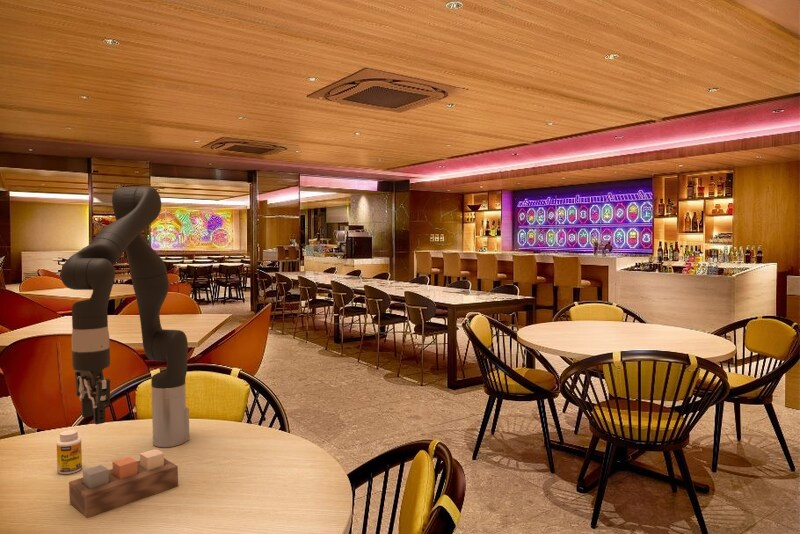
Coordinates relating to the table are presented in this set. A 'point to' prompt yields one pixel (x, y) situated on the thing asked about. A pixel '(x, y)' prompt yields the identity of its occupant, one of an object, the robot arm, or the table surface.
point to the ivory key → (151, 459)
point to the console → (122, 489)
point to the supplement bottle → (69, 452)
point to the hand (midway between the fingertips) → (93, 419)
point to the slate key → (95, 476)
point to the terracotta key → (124, 467)
